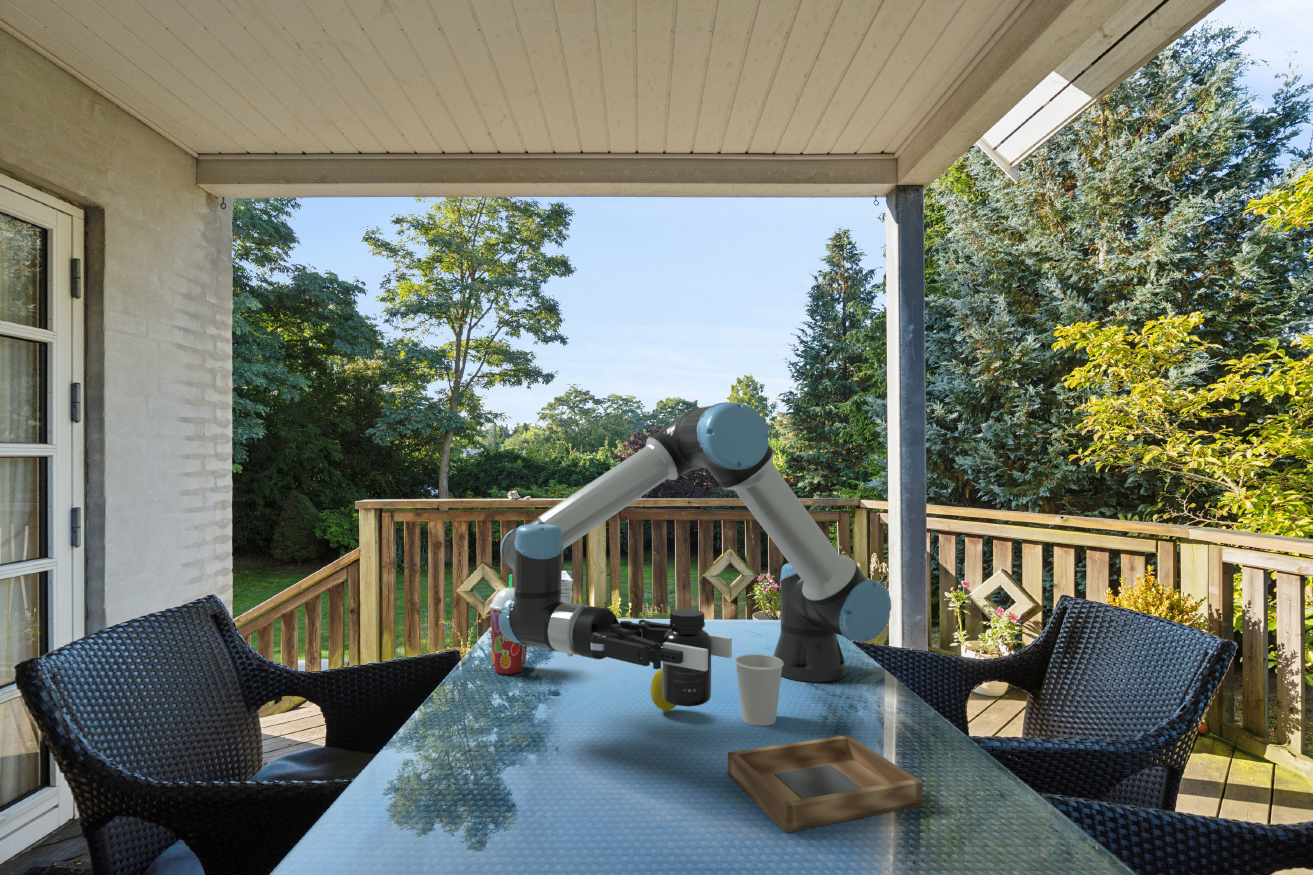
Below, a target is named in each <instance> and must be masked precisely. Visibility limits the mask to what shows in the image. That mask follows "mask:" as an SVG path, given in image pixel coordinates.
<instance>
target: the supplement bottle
mask: <svg viewBox="0 0 1313 875" xmlns="http://www.w3.org/2000/svg"><path fill="white" fill-rule="evenodd" d="M669 624H670V626H671V627H672V629H671V630H669V631H668V632H666V634H665V635H664V637H663V643H665V642H668V643H674V644H680V645H686V646H692V647H698V648H704V649H708V670H707V671H701V670H695V669H690V668H685V667H680V666H674V665H669V664H664V663H663V662H662V668H663V697H664V699H665V700H666V701H667V702H669V703H671V704H674V705H677V706H679V707H696V706H697V707H698V706H701V705H704V704H706V703H707V702H709V700H710V699H711V696H712V655H711V638H710V636H709V634H710V633H708V632H707V631H706V630H704V627H705V626H706V622H705V613H704V612H703V611H702V610H697V609H692V608H691V609H690V608H689V609H687V608H685V609H684V608H683V609H682V608H681V609H675V610H672V611H670V615H669Z"/></svg>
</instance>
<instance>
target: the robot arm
mask: <svg viewBox="0 0 1313 875" xmlns="http://www.w3.org/2000/svg"><path fill="white" fill-rule="evenodd" d="M769 436H770V433H769V429H768V426H767V423H766V422H765V420H764V418H763V417H762V416H761V414H760V413H759V412H758V411H757V410H755V409H754V408H752V407H750V406H748V405H746V404H743V403H739V402H732V401H731V402H728V401H725V402H720V403H719V402H718V403H715V404H712V405H708V406H703V407H702V406H701V407H696V408H691V409H690V410H688V411H685V412H684V413H682V414H681V415H680V416H678V417H676V419H674V420H673V421H671V422H670V423H669V424H667V425H666V426H665V427H663V428H662V429H660V430H659V431H658V432H656V433H655V434H653V435H652V436H649V438H647V439H646V443H645V446H644V447H643V448H642V449H640V450H639V451H636V453H634V454H632V455H631V456H630V457H627V458H626V459H625V460H623V461H622V462H620V463H619V464H617V465H616V466H614V467H612V468H611V469H610V470H608V471H606V472H604V473H603V474H602V475H600V476H599V477H597V478H596V479H594V480H593V481H591V482H589V483H587V484H586V485H585V486H583V487H582V488H580V489H579V490H577V491H576V492H574V493H573V494H571V495H569V496H568V497H566V498H565V499H564V500H562V501H561V502H559V503H557V504H556V505H555V506H553V507H551V508H550V509H549V510H547V511H545V512H543V513H542V514H541V515H539V516H538V517H536V518H535V519H533V520H532V521H530V522H528V523H527V524H523V525H520V526H518V527H516V528H514V529H511V530H510V531H508V532H507V533H506V534H505V535H504V537H503V538H502V540H501V543H500V554H501V557H502V559H503V563H504V564H505V565H506V566H507V567H508V568H509V569H511V570H513V571H514V588H515V594H514V596H513V597H511V598H510V599H508V600H507V601H506V602H505V603H504V605H503V607H502V612H501V614H500V615H499V627H500V630H501V633H502V634H503V636H504V637H505V638H506V639H508V640H510V641H513V642H516V643H520V644H522V645H524V646H527V648H529V647H534V648H539V649H545V650H548V649H550V650H549V651H556V652H562V653H566V656H567V657H570V658H571V657H573V656H574V655H577V656H581V657H585V658H590V659H593V660H603V659H606V658H610V659H612V660H616V661H617V660H618V661H622V662H626V663H629V664H632V665H633V664H634V665H638V666H641V667H648V666H651V663H652V669H653V670H660V669H662V664H663V663H664V664H669V665H674V666H680V667H685V668H690V669H695V670H701V671H707V670H708V649H704V648H698V647H692V646H686V645H680V644H674V643H668V642H665V643H663V637H664V635H665V634H666V632H668V631H669V630H671V629H672V627H671V626H670V623H661V622H656V621H655V622H653V621H650V620H645V619H639V620H638V623H636V622H632V621H630V620H621V621H619V620H618V619H617V616H616V614H615V613H614V612H613V611H612V609H609V608H606V607H598V606H592V605H590V606H589V605H586V604H581V603H580V604H579V603H574V602H573V603H566V602H561V578H562V571H563V569H562V567H563V550H565V549H566V548H568V547H569V546H571V545H572V544H573V543H575V542H577V541H579V539H581V538H582V537H584V536H585V535H587V534H588V533H590V532H591V531H593V530H594V529H595V528H597V527H599V526H600V525H602V524H603V523H604V522H606V521H607V520H609V519H611V518H612V517H613V516H615V515H616V514H617V513H619V512H620V511H622V510H624V509H625V508H626V507H628V506H629V505H632V503H634V502H636V501H637V500H638V499H640V498H641V497H642V496H644V495H645V494H647V493H649V492H650V491H651V490H653V489H654V488H656V487H658V486H659V485H660V484H661V483H664V482H665V481H666V480H671V481H675V480H677V479H678V478H680V477H681V476H683V475H684V474H686V473H689V472H691V471H694V470H698V469H702V468H703V469H707V470H708V471H709V473H710V474H711V475H712V477H713V478H714V479H715V480H716V482H717V483H718V484H719V486H720V487H721V488H722V489H723V490H731V491H734V492H735V494H737V495H738V498H739V499H741V501H742V503H744V505H745V507H746V508H747V509H748V510H749V511H750V513H751V514H752V516H753V517H754V519H756V521H757V522H758V523H759V525H760V527H761V528H762V529H763V530H764V531H765V533H766V535H768V537H769V538H770V539H771V541H772V543H774V545H775V547H777V549H778V550H779V551H780V553H781V554H782V555H783V556H784V558H785V559H786V561H787V563H785V564H784V565H783V566H782V567H781V569H780V570H781V571H780V579H779V583H780V635H779V638H778V641H777V643H776V647H775V650H774V653H773V655H772V656H774V657H777V658H779V659H781V660H782V661H783V663H784V665H783V666H782V673H781V677H783V678H786V679H790V680H795V681H801V682H809V683H824V682H825V683H826V682H833V681H837V680H841V679H843V678H844V677H846V673H847V672H846V671H847V670H846V665H847V664H846V661H845V657H844V655H843V652H842V648H841V646H840V642H839V639H838V636H842V637H844V638H845V639H847V640H850V641H856V642H860V643H861V642H864V643H865V642H869V641H872V640H874V639H876V638H877V637H879V635H881V633H882V632H884V630H885V628H886V626H887V625H888V623H889V621H890V618H891V610H892V600H891V596H890V593H889V592H888V589H887V588H886V587H885V586H884V585H883V584H882V583H880V582H879V581H877V580H875V579H871V578H870V579H869V578H867V577H866V576H865V575H864V573H863V572H862V570H861V568H859V566H858V565H857V564H856V562H855V560H854V559H853V558H852V557H849V556H846V555H840V554H839V552H838V551H837V549H836V548H835V547H834V546H833V544H832V543H831V541H830V540H829V539H828V537H827V536H826V535H825V533H824V532H823V531H822V529H821V528H820V526H819V525H818V524H817V522H816V521H815V520H814V518H813V516H812V515H811V514H810V513H809V511H808V510H807V509H806V507H805V505H803V503H802V502H801V501H800V499H799V497H797V495H796V494H795V492H794V491H793V489H792V488H791V486H789V484H788V483H787V481H786V480H785V478H784V477H783V476H782V474H781V473H780V472H779V471H778V469H777V468H776V467H775V465H774V463H773V458H774V450H773V448H772V446H770V441H769ZM708 634H709V636H710V638H711V656H714V657H720V658H727V659H731V658H732V657H733V652H732V651H733V647H732V646H733V638H732V637H729V636H725V635H724V636H723V635H716V634H711V633H708Z"/></svg>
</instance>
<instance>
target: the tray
mask: <svg viewBox="0 0 1313 875" xmlns="http://www.w3.org/2000/svg"><path fill="white" fill-rule="evenodd" d="M727 775H728V776H729V777H730V778H731V779H732V781H733V782H735V783H736V784H737V785H738V787H740V789H742V791H744V792H745V793H746V794H747V796H749V797H750V798H751V799H752V801H754V802H755V803H756V805H758V806H759V808H761V809H762V811H764V812H765V814H766V815H768V817H769V818H770V819H771V820H772V821H774V822H775V824H777V826H779V828H781V829H782V831H784V833H786V834H787V833H791V832H796V831H801V830H808V829H811V828H817V827H822V826H826V825H833V824H838V823H841V822H847V821H853V820H858V819H863V818H867V817H868V818H869V817H873V816H878V815H879V816H880V815H883V814H889V813H894V812H899V811H904V810H909V809H914V808H919V807H923V806H924V795H923V794H924V793H923V792H924V788H923V786H924V782H923V781H922V780H920V779H918V777H916V776H914V775H912V774H911V773H909V772H907V771H906V770H904V769H903V768H901V767H899V766H898V765H896V763H893V762H891V761H890V760H889V759H887V758H885V757H883V756H882V755H881V754H879V753H877V752H876V751H874V749H873V750H872V749H871V748H870V747H868V746H866V745H865V744H863V743H862V742H860V741H859V740H857V739H855V738H854V737H852V736H851V735H849V734H845V735H839V736H838V735H837V736H832V737H824V738H817V739H811V740H805V741H797V742H791V743H784V744H776V745H770V746H763V747H757V748H749V749H743V750H736V751H730V752H727Z"/></svg>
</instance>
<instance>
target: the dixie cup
mask: <svg viewBox="0 0 1313 875" xmlns="http://www.w3.org/2000/svg"><path fill="white" fill-rule="evenodd" d="M734 663H735V667H736V673H737V674H736V675H737V683H738V685H737V686H738V691H739V693H738V695H739V702H740V710H741V717H742V718H741V720H742V721H743V722H744V723H746V724H747V725H750V726H755V725H756V726H757V727H767V726H772V725H774V724H775V723H776V720H777V714H778V706H779V705H778V704H779V698H780V697H779V696H780V687H781V681H782V676H781V673H782V666H783V665H784V663H783V661H782V660H781V659H779V658H777V657H774V656H773V655H770V654H769V655H768V654H758V653H750V654H749V653H747V654H743V655H740V656H737V657H736V658H735V659H734Z"/></svg>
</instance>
